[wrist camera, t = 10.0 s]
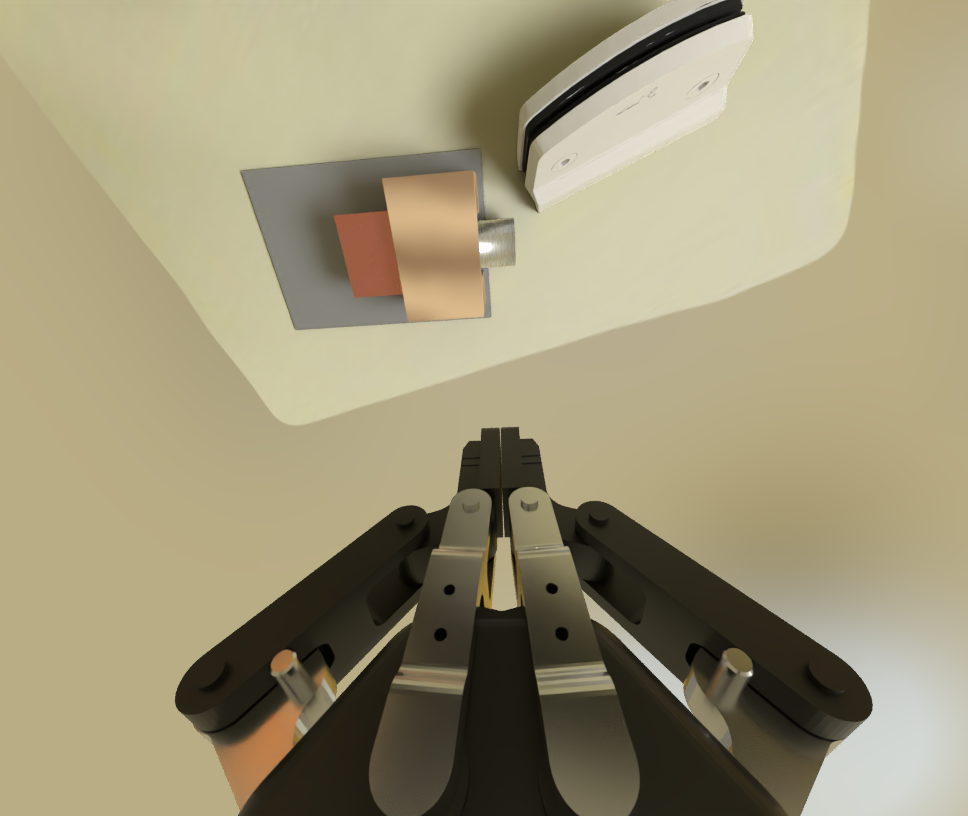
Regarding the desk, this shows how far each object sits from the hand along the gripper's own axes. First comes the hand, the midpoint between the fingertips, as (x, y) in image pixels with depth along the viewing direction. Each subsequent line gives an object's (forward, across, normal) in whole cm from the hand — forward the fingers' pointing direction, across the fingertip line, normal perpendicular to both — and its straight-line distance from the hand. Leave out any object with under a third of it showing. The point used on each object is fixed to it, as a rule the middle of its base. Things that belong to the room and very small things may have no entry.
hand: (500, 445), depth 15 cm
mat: (+27, +12, -5) cm, 30 cm away
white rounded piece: (+27, -10, -14) cm, 32 cm away
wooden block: (+27, +5, -5) cm, 28 cm away
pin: (+27, +6, -5) cm, 28 cm away
